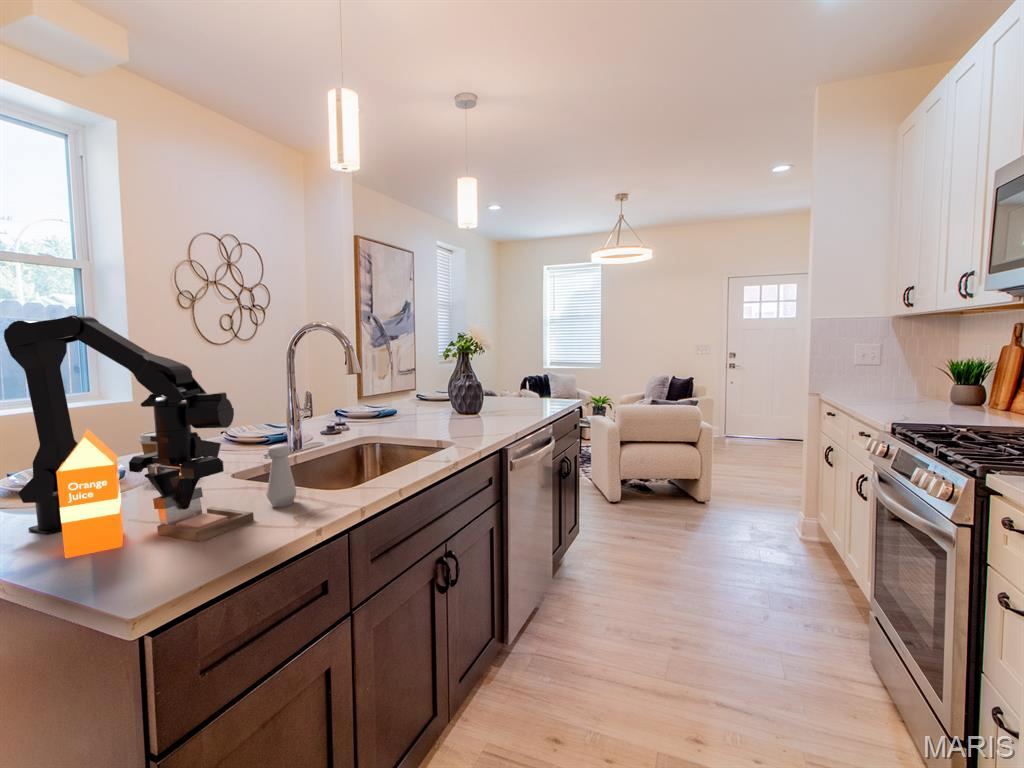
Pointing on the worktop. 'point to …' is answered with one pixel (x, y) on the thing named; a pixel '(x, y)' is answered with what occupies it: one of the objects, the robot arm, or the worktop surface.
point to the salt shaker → (280, 477)
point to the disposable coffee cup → (148, 443)
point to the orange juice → (90, 498)
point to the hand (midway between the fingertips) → (179, 508)
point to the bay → (234, 521)
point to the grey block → (177, 507)
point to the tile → (202, 521)
